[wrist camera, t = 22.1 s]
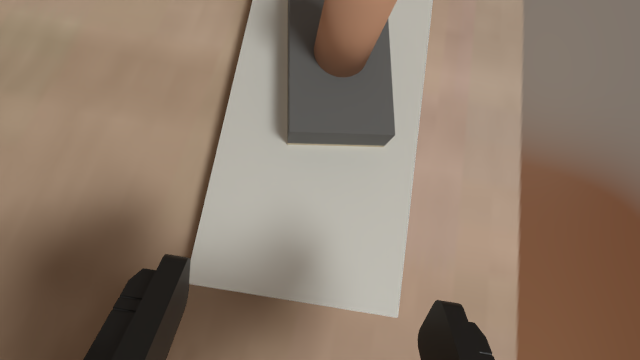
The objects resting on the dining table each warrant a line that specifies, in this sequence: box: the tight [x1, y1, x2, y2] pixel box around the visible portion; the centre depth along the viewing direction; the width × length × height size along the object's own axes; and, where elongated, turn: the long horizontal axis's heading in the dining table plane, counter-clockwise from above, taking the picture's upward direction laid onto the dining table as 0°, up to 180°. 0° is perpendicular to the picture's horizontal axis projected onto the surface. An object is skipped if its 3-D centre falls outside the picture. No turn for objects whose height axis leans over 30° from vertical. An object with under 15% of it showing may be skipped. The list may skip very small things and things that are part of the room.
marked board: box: [189, 0, 433, 318], centre depth 26 cm, size 26×12×2 cm, turn 171°
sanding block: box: [287, 0, 397, 147], centre depth 21 cm, size 10×6×8 cm, turn 1°
